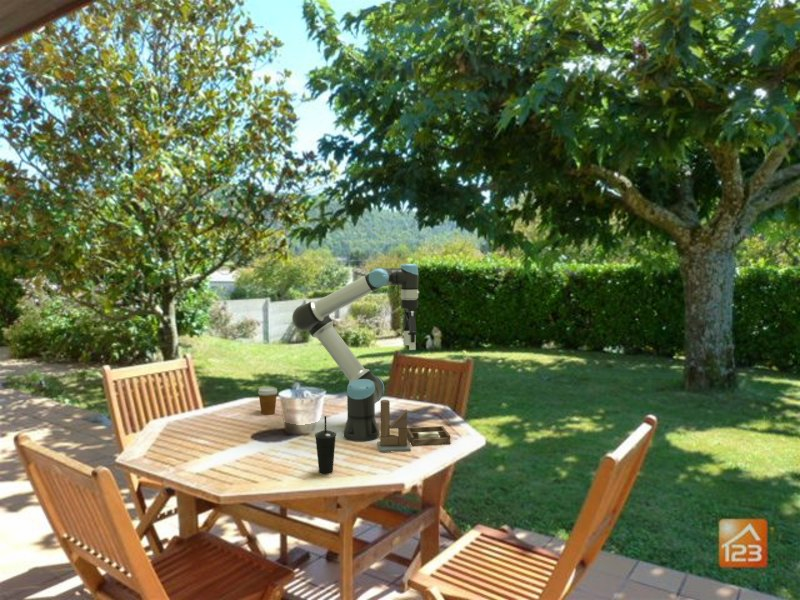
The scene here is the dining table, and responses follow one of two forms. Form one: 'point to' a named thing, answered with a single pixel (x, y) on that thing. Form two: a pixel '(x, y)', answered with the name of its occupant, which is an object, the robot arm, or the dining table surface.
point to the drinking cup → (325, 449)
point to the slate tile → (393, 448)
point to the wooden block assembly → (385, 427)
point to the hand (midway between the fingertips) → (409, 347)
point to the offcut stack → (428, 435)
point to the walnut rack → (413, 438)
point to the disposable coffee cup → (267, 400)
